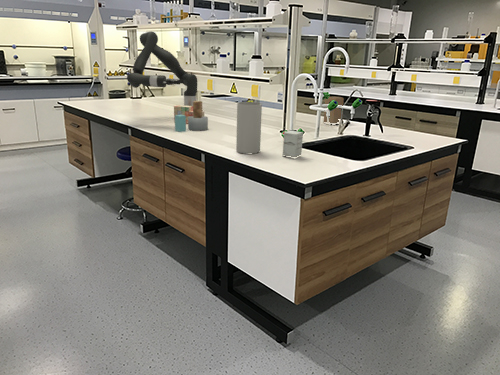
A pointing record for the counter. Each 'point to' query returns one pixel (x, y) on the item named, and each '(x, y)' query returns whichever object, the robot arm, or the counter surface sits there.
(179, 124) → the teal block
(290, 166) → the counter surface
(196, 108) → the walnut block
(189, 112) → the stack of blocks
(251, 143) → the cylinder vase
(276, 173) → the counter surface
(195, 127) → the plinth
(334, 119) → the block
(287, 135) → the supplement box
